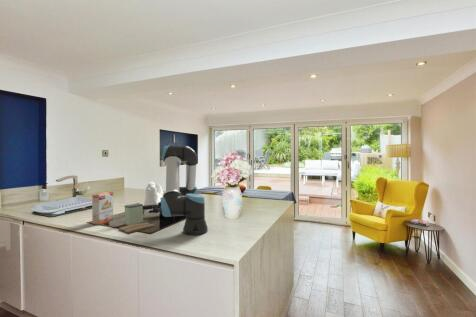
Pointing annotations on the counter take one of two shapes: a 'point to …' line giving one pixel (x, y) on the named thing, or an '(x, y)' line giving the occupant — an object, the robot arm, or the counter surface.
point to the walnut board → (136, 227)
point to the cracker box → (102, 207)
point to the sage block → (133, 214)
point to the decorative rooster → (153, 194)
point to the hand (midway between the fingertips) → (139, 211)
